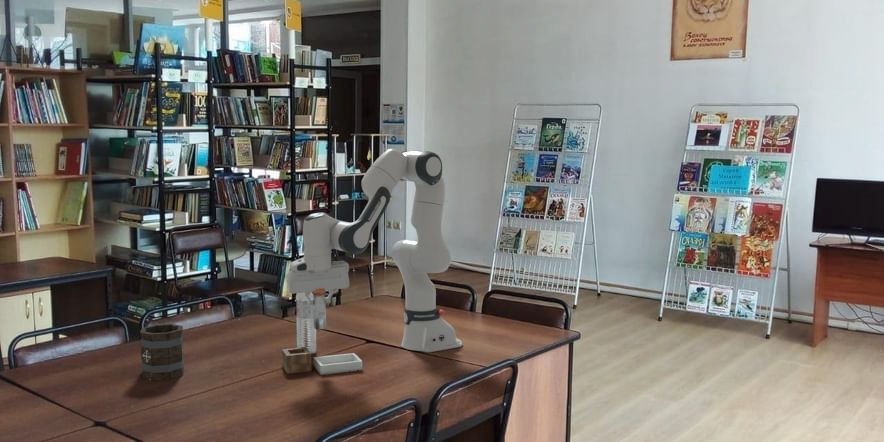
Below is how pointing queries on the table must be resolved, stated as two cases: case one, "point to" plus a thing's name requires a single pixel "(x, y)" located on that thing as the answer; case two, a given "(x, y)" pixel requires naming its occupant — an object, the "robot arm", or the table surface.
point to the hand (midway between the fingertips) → (319, 303)
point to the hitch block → (296, 360)
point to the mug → (162, 351)
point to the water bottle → (305, 323)
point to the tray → (337, 363)
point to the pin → (319, 308)
